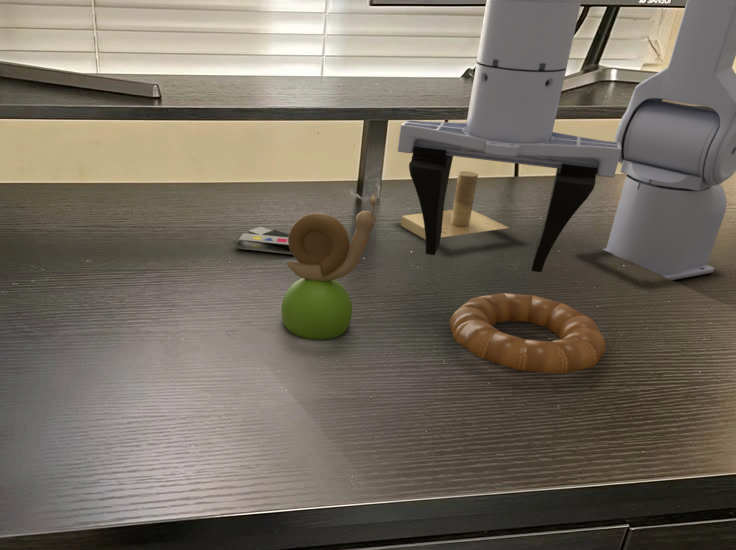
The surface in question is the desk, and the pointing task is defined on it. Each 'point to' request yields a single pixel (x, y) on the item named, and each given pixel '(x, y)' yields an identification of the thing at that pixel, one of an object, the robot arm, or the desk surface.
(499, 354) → the ring
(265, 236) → the grey game box
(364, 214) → the snail figurine
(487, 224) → the post
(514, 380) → the desk surface
